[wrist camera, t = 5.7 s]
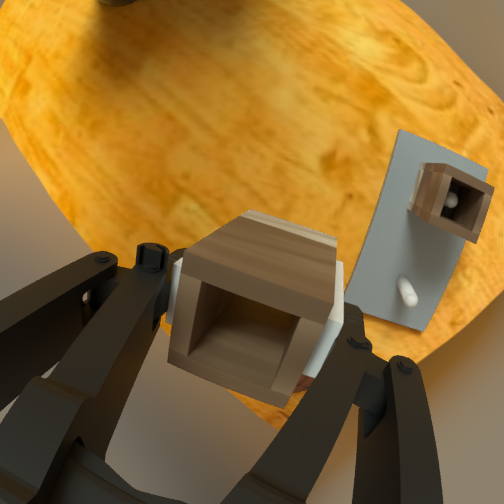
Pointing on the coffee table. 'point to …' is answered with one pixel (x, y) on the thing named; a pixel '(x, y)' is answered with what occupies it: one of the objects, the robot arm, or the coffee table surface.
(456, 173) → the sleeve seated
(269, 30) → the coffee table surface
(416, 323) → the pin board
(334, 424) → the robot arm
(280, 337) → the sleeve loose
